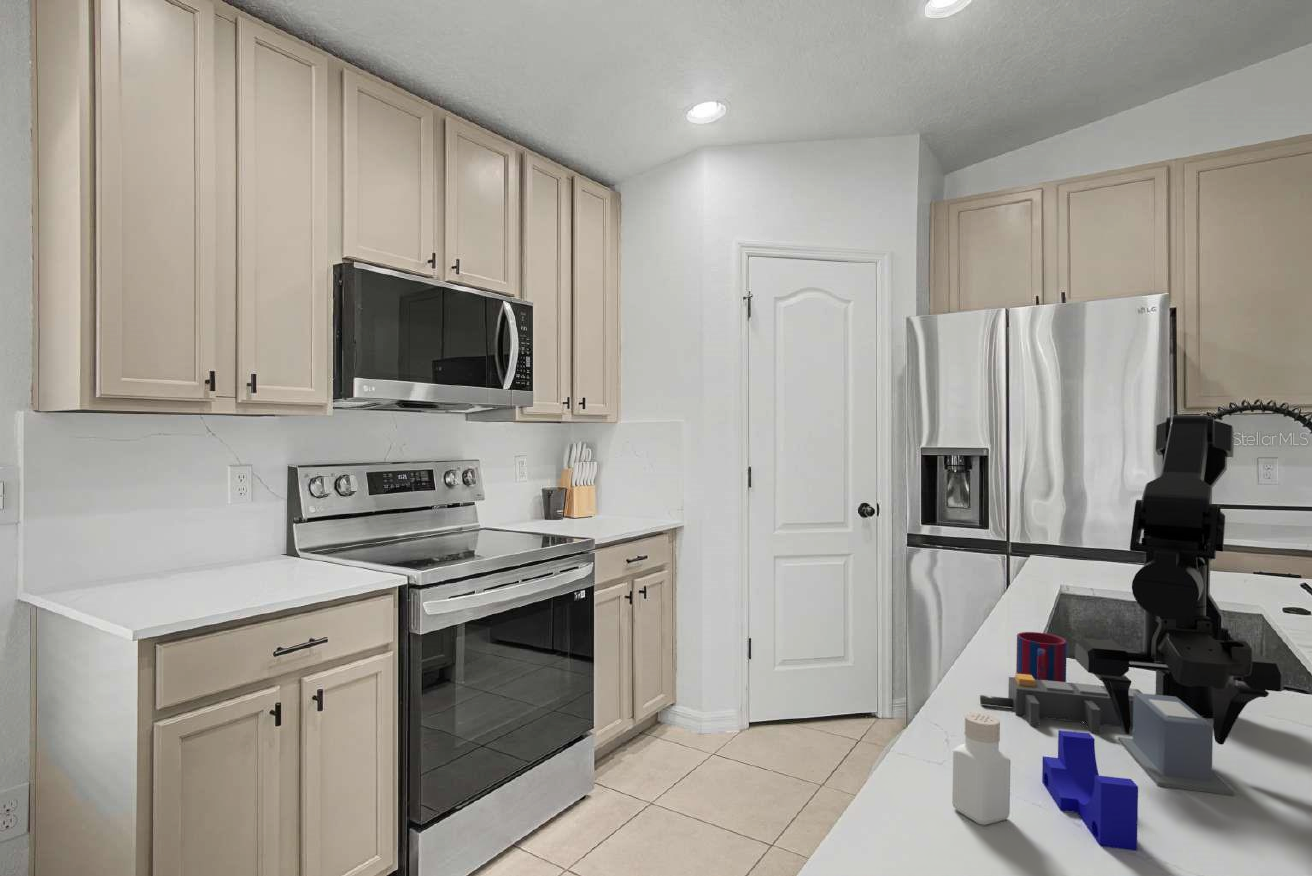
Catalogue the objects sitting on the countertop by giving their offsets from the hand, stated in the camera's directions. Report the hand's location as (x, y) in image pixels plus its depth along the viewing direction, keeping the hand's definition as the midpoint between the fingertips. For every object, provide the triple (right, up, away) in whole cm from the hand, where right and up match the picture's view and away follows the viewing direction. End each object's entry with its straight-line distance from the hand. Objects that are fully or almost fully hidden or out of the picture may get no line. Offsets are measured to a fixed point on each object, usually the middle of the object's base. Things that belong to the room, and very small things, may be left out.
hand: (1171, 737), depth 82 cm
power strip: (-5, -3, +14) cm, 15 cm away
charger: (0, -3, 0) cm, 3 cm away
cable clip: (-16, -3, -11) cm, 20 cm away
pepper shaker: (-27, -3, -11) cm, 29 cm away
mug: (-1, -3, +26) cm, 26 cm away
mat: (0, -3, 0) cm, 3 cm away
